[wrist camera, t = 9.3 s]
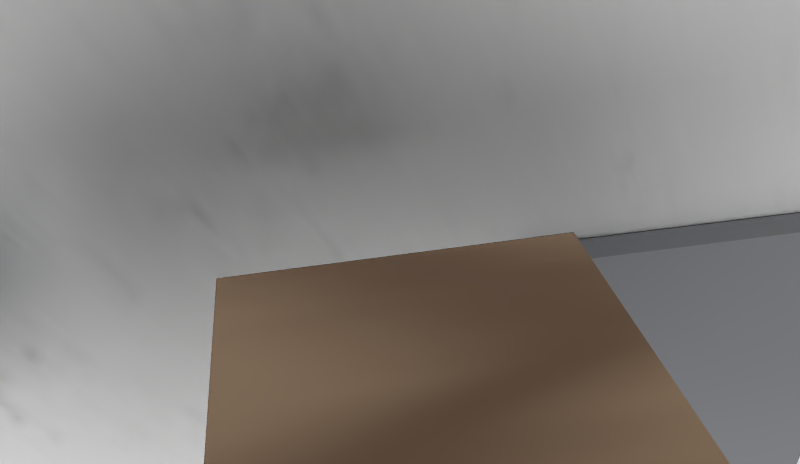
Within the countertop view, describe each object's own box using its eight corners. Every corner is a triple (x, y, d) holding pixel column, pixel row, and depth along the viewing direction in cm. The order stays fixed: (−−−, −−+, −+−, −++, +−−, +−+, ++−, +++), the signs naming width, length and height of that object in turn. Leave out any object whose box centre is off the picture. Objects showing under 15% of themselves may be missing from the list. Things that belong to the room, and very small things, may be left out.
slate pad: (878, 203, 23) (901, 219, 22) (778, 450, 30) (793, 470, 29) (517, 247, 22) (527, 266, 21) (497, 497, 28) (504, 520, 27)
